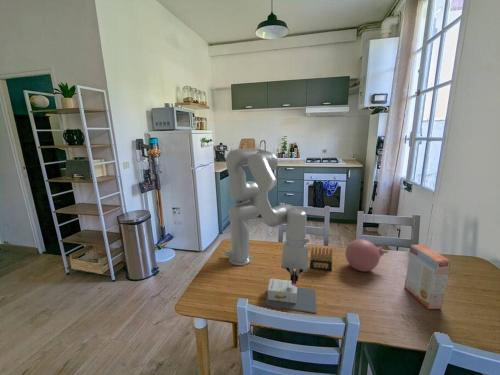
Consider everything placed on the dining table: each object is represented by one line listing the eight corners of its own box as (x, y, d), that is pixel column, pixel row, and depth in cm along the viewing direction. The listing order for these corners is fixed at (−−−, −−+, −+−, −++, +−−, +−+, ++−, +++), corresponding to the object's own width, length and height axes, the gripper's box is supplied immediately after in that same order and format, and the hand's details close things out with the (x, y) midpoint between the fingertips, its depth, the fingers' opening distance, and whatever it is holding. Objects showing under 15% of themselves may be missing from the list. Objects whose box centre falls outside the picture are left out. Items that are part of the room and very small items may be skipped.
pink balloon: (393, 278, 113) (398, 248, 110) (350, 277, 114) (353, 247, 111) (378, 261, 128) (382, 234, 125) (340, 260, 129) (342, 233, 126)
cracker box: (442, 309, 93) (452, 260, 89) (427, 310, 93) (436, 261, 88) (416, 286, 107) (424, 243, 102) (403, 287, 107) (410, 244, 102)
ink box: (297, 291, 104) (270, 287, 107) (297, 280, 103) (270, 277, 106) (296, 304, 96) (267, 300, 99) (296, 293, 95) (267, 289, 98)
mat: (264, 305, 96) (264, 304, 96) (269, 284, 110) (270, 283, 110) (316, 313, 92) (316, 312, 92) (315, 290, 105) (315, 289, 105)
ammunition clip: (331, 269, 121) (332, 247, 119) (331, 271, 120) (333, 249, 117) (309, 267, 123) (310, 245, 121) (309, 269, 122) (310, 247, 119)
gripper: (315, 238, 97) (312, 279, 101) (277, 235, 100) (277, 274, 104) (315, 247, 89) (313, 290, 94) (275, 243, 93) (274, 285, 97)
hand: (294, 281), depth 99 cm, fingers closed
